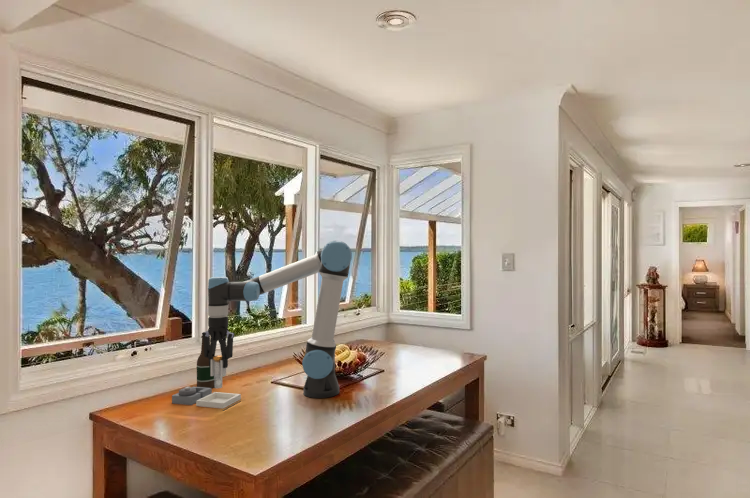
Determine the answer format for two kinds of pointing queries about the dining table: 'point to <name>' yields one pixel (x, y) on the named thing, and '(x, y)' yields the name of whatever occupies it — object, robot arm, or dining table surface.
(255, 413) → the dining table surface
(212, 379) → the beer bottle
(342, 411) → the dining table surface
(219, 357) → the lock pin
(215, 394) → the tray
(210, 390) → the block
